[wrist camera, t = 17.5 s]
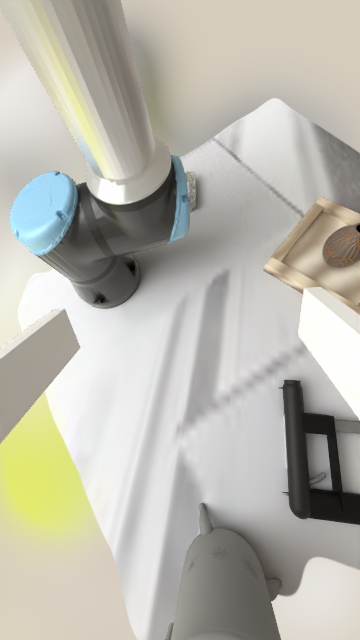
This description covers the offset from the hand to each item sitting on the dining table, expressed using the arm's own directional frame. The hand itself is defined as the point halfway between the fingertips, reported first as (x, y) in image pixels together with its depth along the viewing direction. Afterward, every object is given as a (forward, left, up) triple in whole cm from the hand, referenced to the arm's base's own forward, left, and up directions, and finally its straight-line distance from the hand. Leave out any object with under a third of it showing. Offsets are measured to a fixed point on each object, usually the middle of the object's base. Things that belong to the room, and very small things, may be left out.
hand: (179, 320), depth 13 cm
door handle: (+23, +3, -33) cm, 41 cm away
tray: (+7, +34, -33) cm, 48 cm away
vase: (+7, +34, -32) cm, 47 cm away
